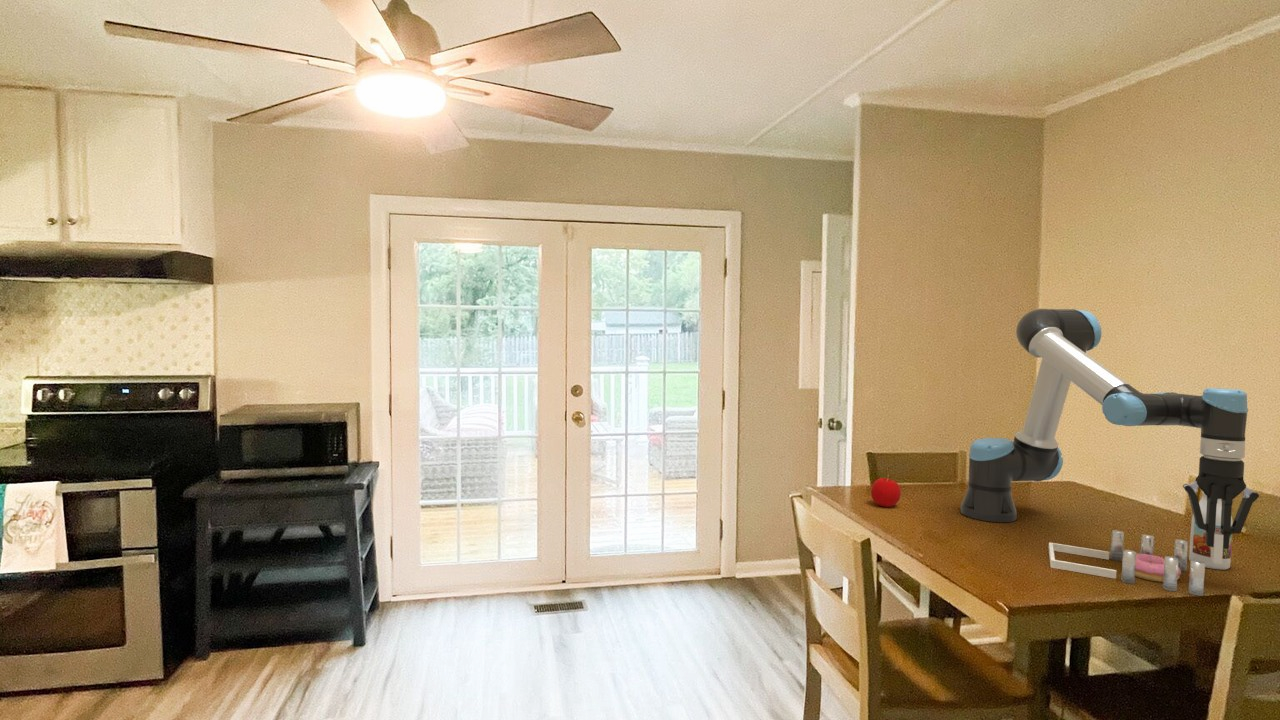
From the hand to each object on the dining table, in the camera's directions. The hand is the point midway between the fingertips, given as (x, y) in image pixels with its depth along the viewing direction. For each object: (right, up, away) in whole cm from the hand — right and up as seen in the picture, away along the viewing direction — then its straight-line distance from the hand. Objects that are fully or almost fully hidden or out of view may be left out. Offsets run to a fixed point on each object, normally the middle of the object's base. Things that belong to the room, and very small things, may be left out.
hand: (1216, 561), depth 148 cm
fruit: (-51, -2, +63) cm, 81 cm away
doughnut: (-10, -6, +6) cm, 13 cm away
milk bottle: (+11, -5, +14) cm, 18 cm away
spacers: (-9, -5, +6) cm, 12 cm away
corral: (-21, -5, +13) cm, 25 cm away
